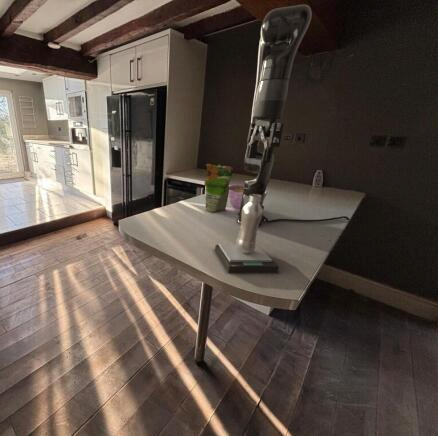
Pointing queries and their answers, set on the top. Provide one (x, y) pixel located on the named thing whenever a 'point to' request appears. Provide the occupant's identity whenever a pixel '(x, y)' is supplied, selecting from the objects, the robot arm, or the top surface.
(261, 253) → the scale
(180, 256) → the top surface
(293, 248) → the top surface
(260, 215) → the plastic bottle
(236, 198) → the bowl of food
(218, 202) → the pouch
